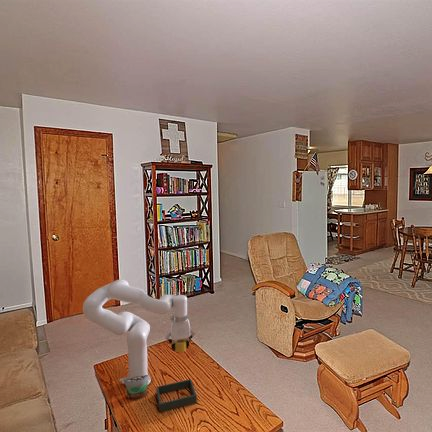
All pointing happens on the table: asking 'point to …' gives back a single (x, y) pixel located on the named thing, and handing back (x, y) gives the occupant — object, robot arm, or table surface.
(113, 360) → the table surface
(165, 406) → the dark green rectangular frame
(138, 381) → the food container
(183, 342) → the tape roll
